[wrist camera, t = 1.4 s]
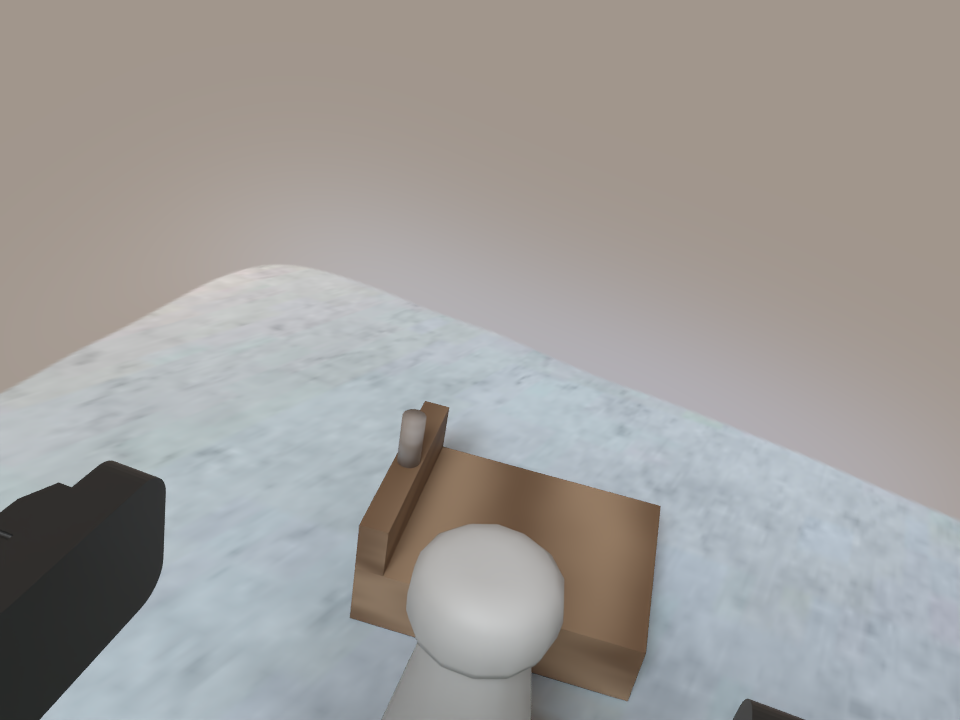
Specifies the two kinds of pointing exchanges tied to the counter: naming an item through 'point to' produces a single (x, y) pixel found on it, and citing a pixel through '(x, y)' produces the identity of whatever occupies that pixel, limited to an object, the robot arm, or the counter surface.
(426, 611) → the salt shaker
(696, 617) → the counter surface
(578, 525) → the wooden stand
